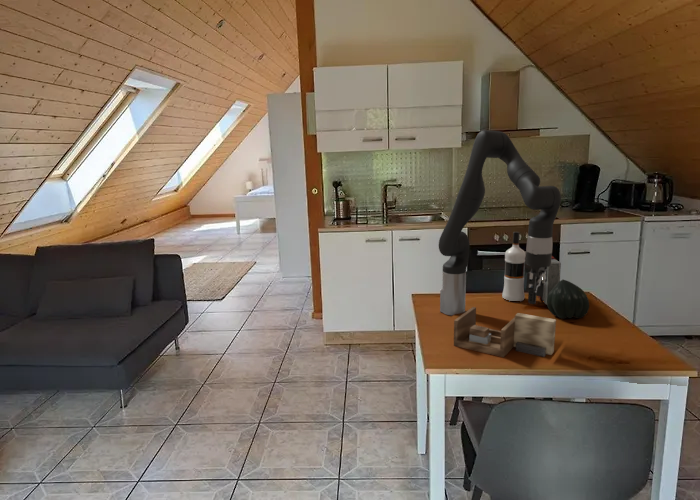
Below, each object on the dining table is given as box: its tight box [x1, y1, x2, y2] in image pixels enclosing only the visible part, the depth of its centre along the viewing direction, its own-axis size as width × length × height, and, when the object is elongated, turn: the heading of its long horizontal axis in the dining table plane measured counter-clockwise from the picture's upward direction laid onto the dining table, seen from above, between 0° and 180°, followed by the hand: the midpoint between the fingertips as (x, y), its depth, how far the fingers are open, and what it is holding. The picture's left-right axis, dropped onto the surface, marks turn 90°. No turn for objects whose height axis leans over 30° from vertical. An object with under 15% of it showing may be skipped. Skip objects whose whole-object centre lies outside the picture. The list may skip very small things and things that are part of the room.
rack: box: [453, 306, 515, 358], centre depth 164 cm, size 17×16×10 cm
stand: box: [515, 342, 547, 358], centre depth 158 cm, size 9×8×4 cm
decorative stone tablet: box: [537, 255, 562, 305], centre depth 211 cm, size 19×6×30 cm
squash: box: [546, 279, 590, 319], centre depth 189 cm, size 14×15×15 cm
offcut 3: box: [469, 341, 490, 347], centre depth 162 cm, size 6×4×2 cm, turn 54°
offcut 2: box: [469, 334, 491, 344], centre depth 161 cm, size 6×4×2 cm, turn 58°
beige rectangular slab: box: [513, 312, 557, 356], centre depth 158 cm, size 12×3×11 cm, turn 54°
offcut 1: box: [470, 324, 490, 338], centre depth 161 cm, size 5×4×2 cm
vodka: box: [501, 231, 526, 302], centre depth 209 cm, size 9×9×30 cm
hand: (535, 299), depth 155 cm, fingers open, 8 cm apart
